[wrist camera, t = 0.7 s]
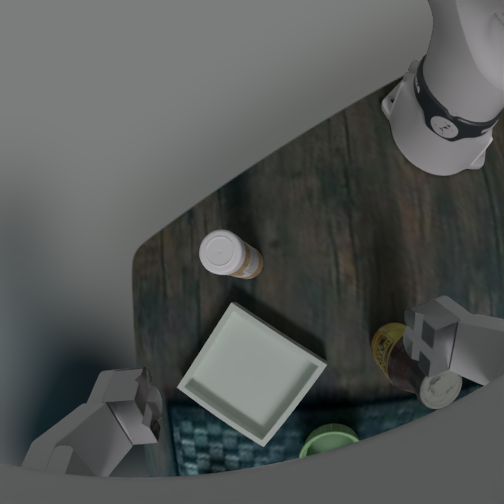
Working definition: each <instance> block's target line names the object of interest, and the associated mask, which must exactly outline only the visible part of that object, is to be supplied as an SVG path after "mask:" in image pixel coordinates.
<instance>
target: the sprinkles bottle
mask: <svg viewBox="0 0 504 504" xmlns="http://www.w3.org/2000/svg"><path fill="white" fill-rule="evenodd" d="M199 255H200V259H201V262H202V264H203V266H204V267H205V268H206V269H207V270H209V271H210V272H212V273H215V274H219V275H230V276H235V277H240V278H244V279H251V278H254V277H255V276H257V275H258V274H259V273H260V272H261V270H262V268H263V258H262V255H261V254H260V252H259V251H258V250H257V249H255V248H253V247H251V246H250V245H248V244H247V243H246V242H244V241H243V240H241V239H240V238H239V237H238V236H237V235H236V234H234V233H232V232H230V231H227V230H216V231H213V232H211V233H209V234H208V235H207V236H206V237H205V238H204V239H203V241H202V243H201V246H200V251H199Z"/></svg>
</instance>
